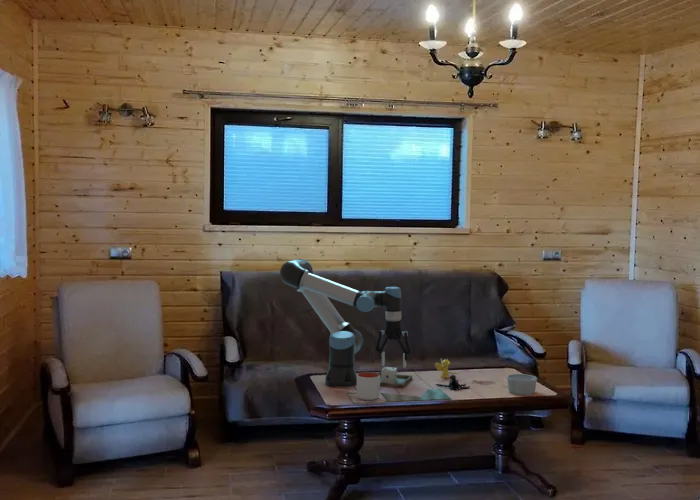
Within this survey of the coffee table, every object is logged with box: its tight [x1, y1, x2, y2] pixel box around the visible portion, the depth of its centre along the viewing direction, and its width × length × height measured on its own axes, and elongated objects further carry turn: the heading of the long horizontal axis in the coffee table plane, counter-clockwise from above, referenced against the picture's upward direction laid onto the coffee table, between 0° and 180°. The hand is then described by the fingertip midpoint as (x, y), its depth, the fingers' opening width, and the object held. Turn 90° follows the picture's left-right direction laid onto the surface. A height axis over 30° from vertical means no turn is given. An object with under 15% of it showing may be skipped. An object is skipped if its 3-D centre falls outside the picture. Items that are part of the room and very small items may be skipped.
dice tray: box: [375, 371, 413, 389], centre depth 334 cm, size 18×18×2 cm
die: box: [380, 366, 398, 383], centre depth 333 cm, size 6×6×6 cm
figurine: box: [434, 358, 460, 379], centre depth 344 cm, size 12×12×9 cm
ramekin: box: [506, 373, 538, 396], centre depth 320 cm, size 13×13×7 cm
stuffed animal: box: [435, 374, 471, 391], centre depth 327 cm, size 12×10×12 cm
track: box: [345, 388, 452, 405], centre depth 310 cm, size 43×16×1 cm, turn 101°
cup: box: [355, 371, 381, 401], centre depth 307 cm, size 10×10×10 cm
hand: (393, 366), depth 338 cm, fingers open, 10 cm apart
